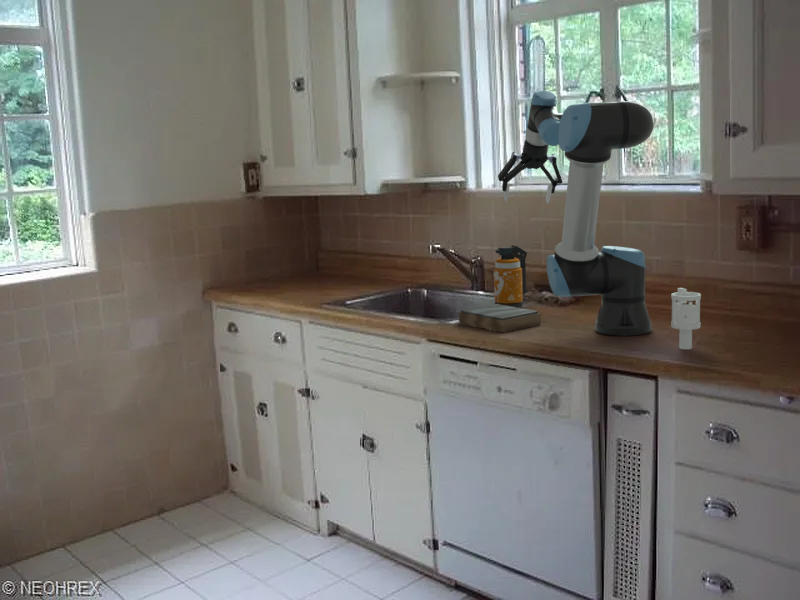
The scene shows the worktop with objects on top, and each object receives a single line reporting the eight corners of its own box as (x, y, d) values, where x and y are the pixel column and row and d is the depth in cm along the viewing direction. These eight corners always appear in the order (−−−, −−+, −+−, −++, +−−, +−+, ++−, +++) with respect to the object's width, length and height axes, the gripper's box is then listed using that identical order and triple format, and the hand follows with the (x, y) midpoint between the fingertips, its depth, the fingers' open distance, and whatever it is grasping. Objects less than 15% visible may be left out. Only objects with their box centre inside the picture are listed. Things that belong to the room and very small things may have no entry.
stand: (540, 324, 270) (540, 311, 269) (502, 332, 261) (502, 318, 260) (496, 316, 285) (496, 303, 284) (459, 323, 276) (458, 310, 276)
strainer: (692, 344, 238) (692, 286, 236) (705, 350, 231) (706, 290, 229) (666, 346, 237) (666, 288, 234) (678, 352, 230) (679, 292, 228)
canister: (489, 307, 299) (488, 246, 296) (519, 303, 304) (518, 243, 300) (503, 312, 291) (501, 248, 288) (533, 308, 295) (532, 245, 292)
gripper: (574, 136, 287) (562, 195, 300) (495, 133, 285) (486, 192, 298) (579, 148, 281) (566, 208, 294) (498, 144, 279) (489, 204, 292)
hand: (526, 200), depth 296 cm, fingers open, 13 cm apart
